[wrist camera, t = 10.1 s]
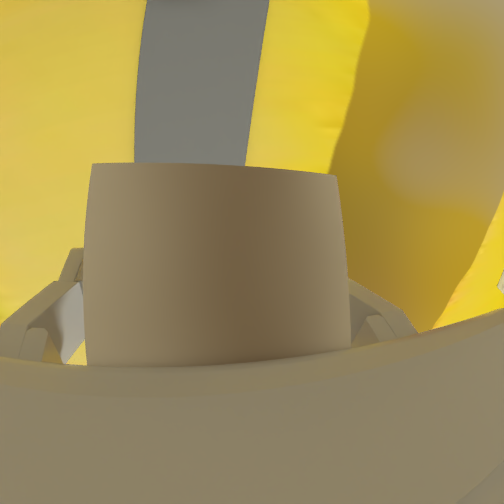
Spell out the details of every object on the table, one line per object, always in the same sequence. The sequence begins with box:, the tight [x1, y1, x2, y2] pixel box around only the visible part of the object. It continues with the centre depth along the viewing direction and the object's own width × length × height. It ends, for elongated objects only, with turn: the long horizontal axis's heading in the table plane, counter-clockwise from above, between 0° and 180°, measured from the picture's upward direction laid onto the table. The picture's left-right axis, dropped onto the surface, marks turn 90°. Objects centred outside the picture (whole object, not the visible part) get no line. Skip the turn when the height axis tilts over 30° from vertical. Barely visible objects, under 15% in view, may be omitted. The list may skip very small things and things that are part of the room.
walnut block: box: [83, 163, 351, 367], centre depth 10 cm, size 5×4×11 cm
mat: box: [135, 0, 269, 166], centre depth 26 cm, size 12×20×1 cm, turn 172°
